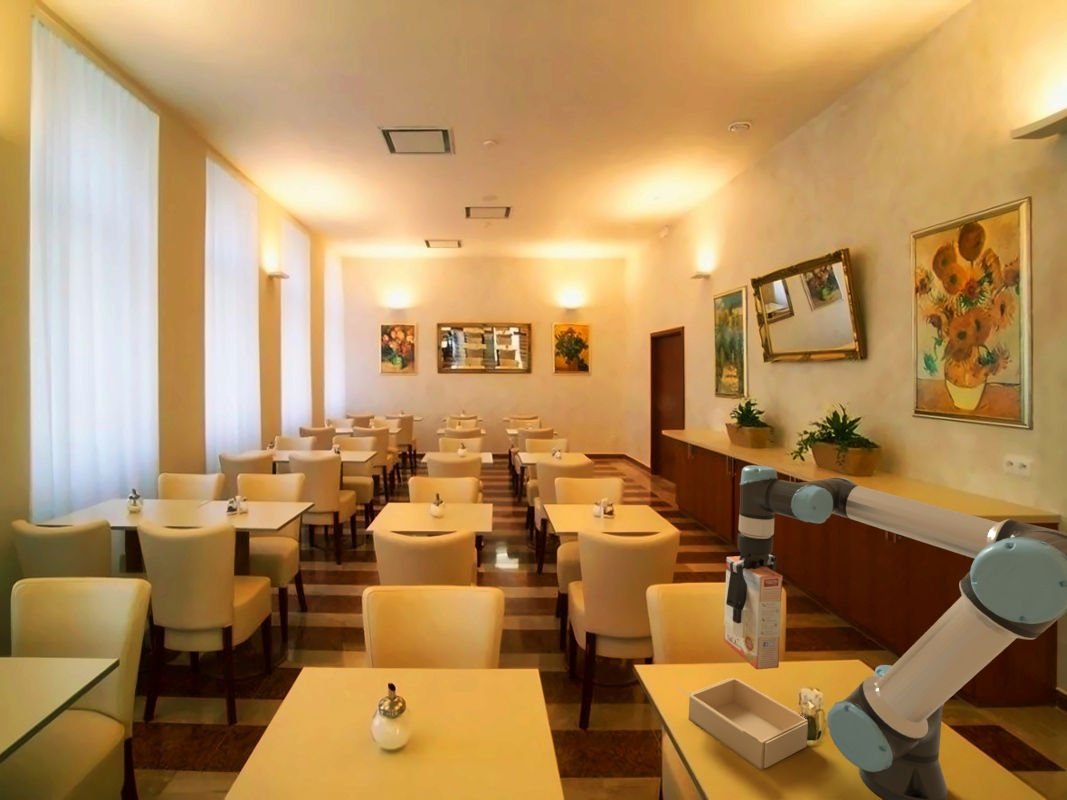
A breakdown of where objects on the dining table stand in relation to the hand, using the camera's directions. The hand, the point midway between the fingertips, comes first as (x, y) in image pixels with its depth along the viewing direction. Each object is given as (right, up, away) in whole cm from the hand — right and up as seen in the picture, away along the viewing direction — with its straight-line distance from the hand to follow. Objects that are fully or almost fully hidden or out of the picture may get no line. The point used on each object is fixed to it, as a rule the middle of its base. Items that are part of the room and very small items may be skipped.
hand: (750, 631), depth 131 cm
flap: (-8, -18, -4) cm, 19 cm away
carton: (-1, -24, +1) cm, 24 cm away
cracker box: (0, -5, 0) cm, 5 cm away
